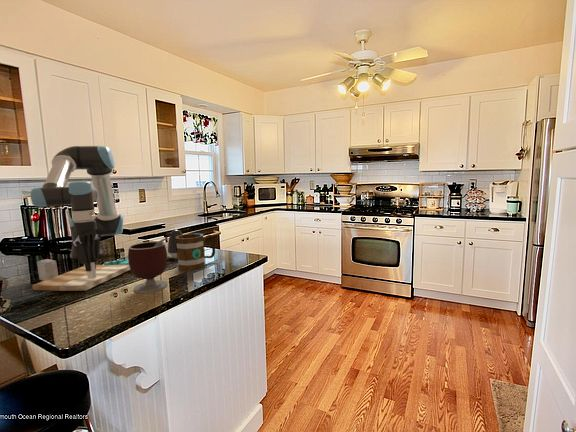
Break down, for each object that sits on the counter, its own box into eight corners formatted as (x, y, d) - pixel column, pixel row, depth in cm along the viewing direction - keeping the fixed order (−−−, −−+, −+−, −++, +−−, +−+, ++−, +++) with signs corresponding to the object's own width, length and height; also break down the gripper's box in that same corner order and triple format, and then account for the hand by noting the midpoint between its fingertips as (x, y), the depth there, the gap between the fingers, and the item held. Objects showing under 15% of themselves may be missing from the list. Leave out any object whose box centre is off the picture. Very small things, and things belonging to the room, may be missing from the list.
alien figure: (104, 267, 156) (139, 268, 152) (103, 263, 156) (138, 263, 152) (131, 256, 175) (163, 257, 171) (131, 252, 175) (162, 253, 171)
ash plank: (110, 269, 150) (109, 265, 150) (132, 268, 149) (131, 264, 148) (59, 290, 123) (58, 285, 123) (86, 290, 121) (85, 285, 121)
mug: (183, 272, 140) (181, 240, 138) (172, 266, 151) (170, 236, 149) (222, 263, 153) (220, 233, 151) (210, 258, 163) (208, 230, 161)
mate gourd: (123, 293, 117) (117, 241, 115) (145, 280, 131) (140, 234, 128) (161, 294, 115) (156, 241, 113) (179, 281, 129) (175, 234, 126)
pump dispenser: (164, 257, 168) (162, 230, 166) (182, 253, 176) (180, 227, 173) (172, 261, 161) (170, 232, 159) (191, 256, 168) (189, 229, 166)
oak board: (87, 268, 152) (87, 264, 152) (109, 269, 151) (108, 265, 150) (32, 290, 125) (32, 285, 125) (58, 290, 123) (58, 285, 123)
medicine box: (59, 279, 138) (56, 260, 136) (47, 282, 134) (44, 263, 133) (50, 277, 142) (48, 258, 140) (39, 280, 138) (36, 261, 137)
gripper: (79, 223, 116) (87, 284, 119) (105, 218, 128) (111, 273, 132) (62, 223, 117) (70, 283, 120) (89, 218, 130) (96, 272, 133)
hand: (92, 278), depth 126 cm, fingers closed
